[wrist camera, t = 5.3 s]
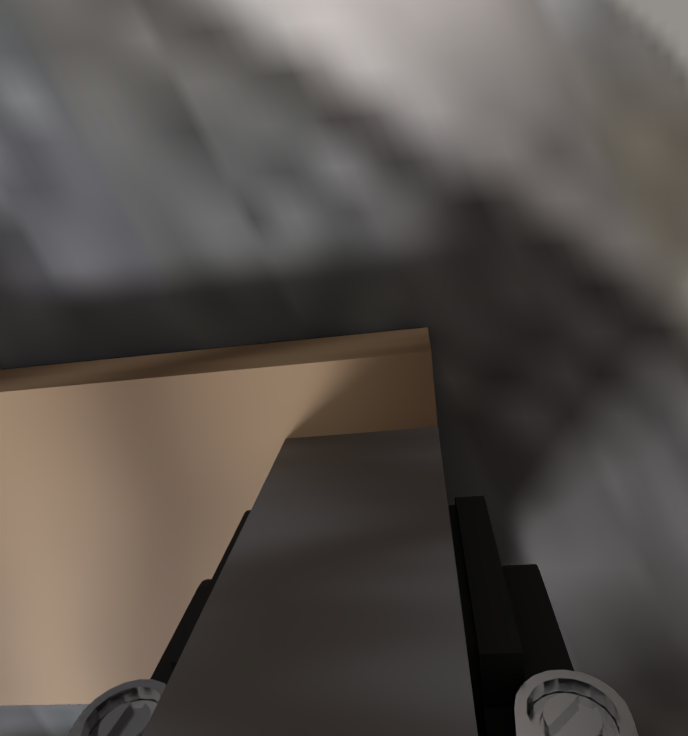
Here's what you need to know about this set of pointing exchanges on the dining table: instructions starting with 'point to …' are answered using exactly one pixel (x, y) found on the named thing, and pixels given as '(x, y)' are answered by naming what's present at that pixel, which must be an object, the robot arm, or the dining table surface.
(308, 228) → the dining table surface
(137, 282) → the dining table surface
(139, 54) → the dining table surface
